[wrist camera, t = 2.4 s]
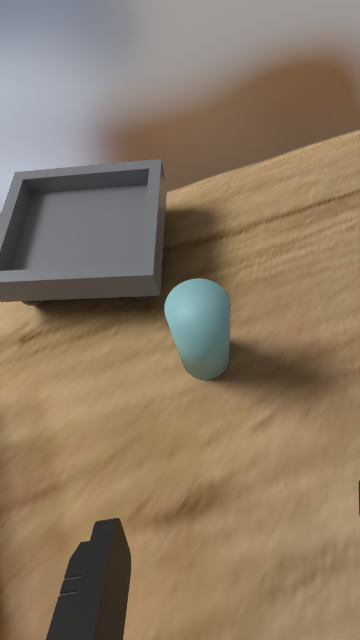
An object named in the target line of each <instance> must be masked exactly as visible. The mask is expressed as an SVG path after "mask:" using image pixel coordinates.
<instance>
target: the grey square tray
mask: <svg viewBox="0 0 360 640" xmlns="http://www.w3.org/2000/svg"><path fill="white" fill-rule="evenodd" d="M166 194H167V184H166V180H165V174H164V169H163V164H162V159H156V160H145V161H134V162H123V163H112V164H101V165H90V166H79V167H68V168H57V169H46V170H35V171H24V172H15V174H14V178H13V180H12V183H11V187H10V189H9V192H8V195H7V198H6V201H5V204H4V207H3V210H2V213H1V216H0V301H1V302H13V301H21V302H23V303H24V304H26V305H30V306H35V305H39V304H41V303H42V302H44V300H63V299H89V298H114V297H134V298H135V299H137V300H139V301H150V300H152V299H154V298H155V297H156V296H160V294H161V277H162V260H163V244H164V227H165V211H166Z"/></svg>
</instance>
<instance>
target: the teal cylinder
mask: <svg viewBox="0 0 360 640" xmlns="http://www.w3.org/2000/svg"><path fill="white" fill-rule="evenodd" d="M164 309H165V316H166V319H167V322H168V325H169V327H170V330H171V333H172V335H173V338H174V341H175V344H176V346H177V349H178V352H179V354H180V357H181V360H182V363H183V365H184V367H185V369H186V371H187V372H188V373H189V374H190V375H192V376H193V377H195V378H197V379H201V380H210V379H214V378H216V377H218V376H220V375H221V374H222V373H223V372H224V371H225V370H226V368H227V366H228V363H229V353H230V300H229V297H228V294H227V293H226V291H225V290H224V289H223V288H222V287H221V286H220V285H219V284H217V283H215V282H213V281H211V280H207V279H200V278H197V279H190V280H187V281H184V282H182V283H180V284H179V285H177V286H176V287H175V288H174V289H173V290H172V291H171V292H170V293H169V295H168V297H167V299H166V302H165V307H164Z"/></svg>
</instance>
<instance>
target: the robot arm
mask: <svg viewBox="0 0 360 640" xmlns="http://www.w3.org/2000/svg"><path fill="white" fill-rule="evenodd" d="M359 514H360V481H359ZM130 575H131V555H130V549H129V546H128V543H127V540H126V537H125V534H124V531H123V527H122V524H121V521H120V519H119V518H114V519H108V520H101V521H97V522H96V523H95V524H94V527H93V531H92V535H91V539H90V541H86V542H81V543H80V544H79V546H78V547H77V549H76V550H75V552H74V553H73V555H72V556H71V558H70V560H69V564H68V567H67V570H66V574H65V577H64V578H65V580H64V581H63V584H62V587H61V591H60V597H58V601H57V604H56V607H55V611H54V614H53V617H52V621H51V624H50V628H49V631H48V634H47V638H46V640H123V635H124V626H125V618H126V609H127V601H128V592H129V584H130Z"/></svg>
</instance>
